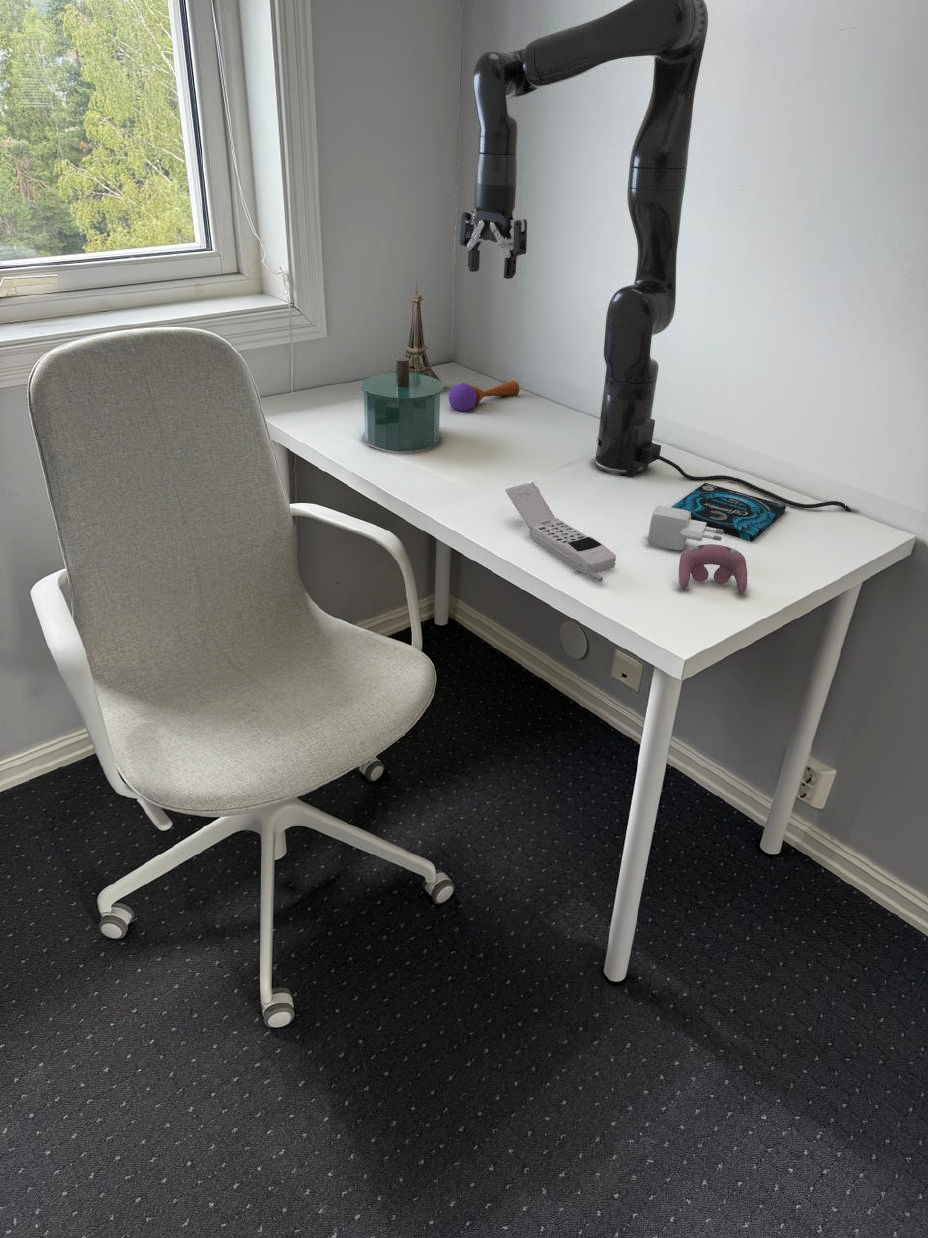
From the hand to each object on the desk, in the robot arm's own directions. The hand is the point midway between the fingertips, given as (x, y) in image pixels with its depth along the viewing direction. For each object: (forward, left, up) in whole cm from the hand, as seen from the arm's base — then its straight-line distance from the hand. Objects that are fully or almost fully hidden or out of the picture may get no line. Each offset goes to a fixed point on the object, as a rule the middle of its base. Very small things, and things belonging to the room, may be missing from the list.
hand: (491, 274), depth 174 cm
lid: (+6, +18, -20) cm, 27 cm away
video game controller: (-67, +28, -30) cm, 79 cm away
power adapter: (-58, +20, -30) cm, 68 cm away
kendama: (+9, -11, -30) cm, 34 cm away
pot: (+6, +18, -30) cm, 36 cm away
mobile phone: (-44, +34, -30) cm, 63 cm away
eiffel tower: (+26, -7, -30) cm, 40 cm away
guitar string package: (-57, +3, -30) cm, 65 cm away
